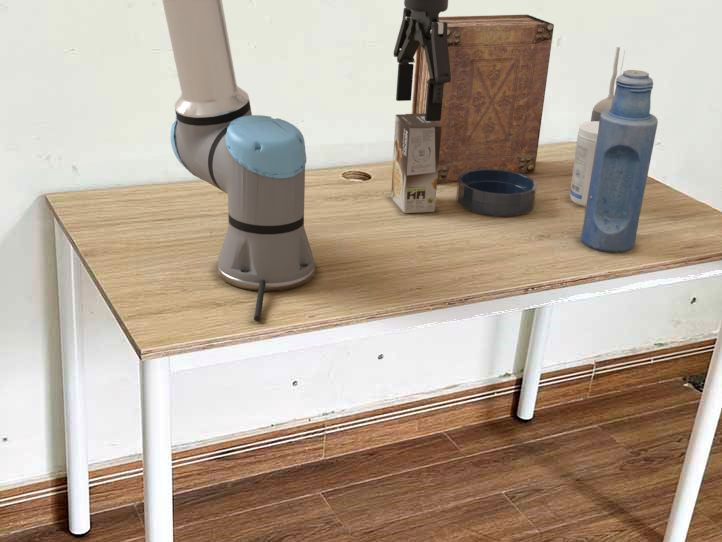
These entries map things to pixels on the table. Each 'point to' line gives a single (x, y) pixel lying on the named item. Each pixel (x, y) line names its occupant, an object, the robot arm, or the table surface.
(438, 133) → the coffee box
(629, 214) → the bottle
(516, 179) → the bowl
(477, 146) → the book
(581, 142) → the supplement tub
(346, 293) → the table surface
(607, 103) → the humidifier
